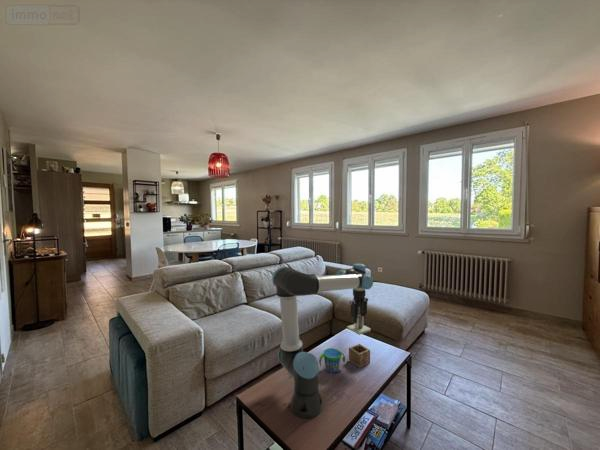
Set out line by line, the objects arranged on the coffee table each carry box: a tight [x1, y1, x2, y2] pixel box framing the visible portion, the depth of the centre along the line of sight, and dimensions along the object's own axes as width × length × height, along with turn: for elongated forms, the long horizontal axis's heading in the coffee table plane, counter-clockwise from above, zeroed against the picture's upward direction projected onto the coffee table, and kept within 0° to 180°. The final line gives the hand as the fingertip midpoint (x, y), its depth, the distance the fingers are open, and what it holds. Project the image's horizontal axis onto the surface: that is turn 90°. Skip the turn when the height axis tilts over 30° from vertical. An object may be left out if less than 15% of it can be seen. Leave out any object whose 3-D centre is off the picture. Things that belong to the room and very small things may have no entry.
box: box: [348, 343, 371, 368], centre depth 155 cm, size 9×9×8 cm
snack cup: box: [318, 347, 346, 374], centre depth 148 cm, size 16×10×10 cm
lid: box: [346, 314, 372, 336], centre depth 154 cm, size 10×10×8 cm
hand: (358, 326), depth 154 cm, fingers closed on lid, 3 cm apart
